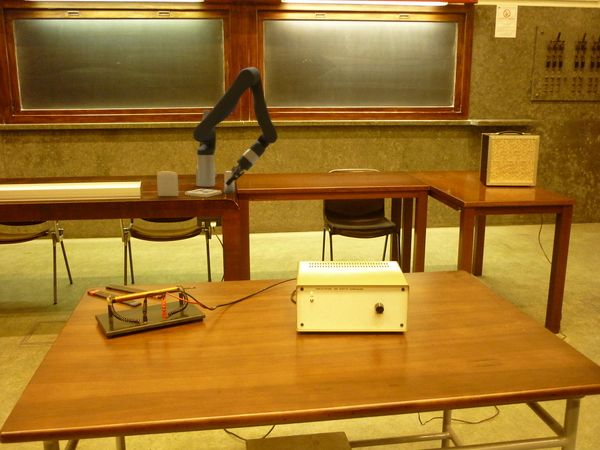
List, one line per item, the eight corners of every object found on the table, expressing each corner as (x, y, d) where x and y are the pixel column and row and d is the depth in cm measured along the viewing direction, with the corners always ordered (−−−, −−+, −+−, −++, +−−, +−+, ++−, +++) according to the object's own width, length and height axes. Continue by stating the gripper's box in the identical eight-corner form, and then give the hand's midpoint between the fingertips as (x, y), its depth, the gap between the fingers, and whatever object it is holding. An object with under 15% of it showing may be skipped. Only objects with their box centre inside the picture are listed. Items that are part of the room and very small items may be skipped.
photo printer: (156, 196, 287) (155, 171, 284) (159, 194, 291) (158, 170, 288) (177, 196, 286) (176, 171, 284) (179, 195, 291) (178, 170, 288)
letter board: (185, 195, 292) (185, 191, 291) (201, 191, 303) (201, 188, 303) (205, 197, 286) (205, 194, 285) (221, 193, 297) (221, 190, 296)
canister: (222, 193, 299) (222, 171, 297) (228, 191, 303) (227, 170, 301) (230, 193, 297) (230, 172, 294) (236, 192, 301) (235, 171, 298)
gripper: (239, 153, 305) (217, 177, 303) (246, 156, 292) (223, 180, 290) (249, 163, 308) (227, 186, 306) (257, 166, 295) (234, 190, 293)
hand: (225, 183), depth 298 cm, fingers closed on canister, 5 cm apart
